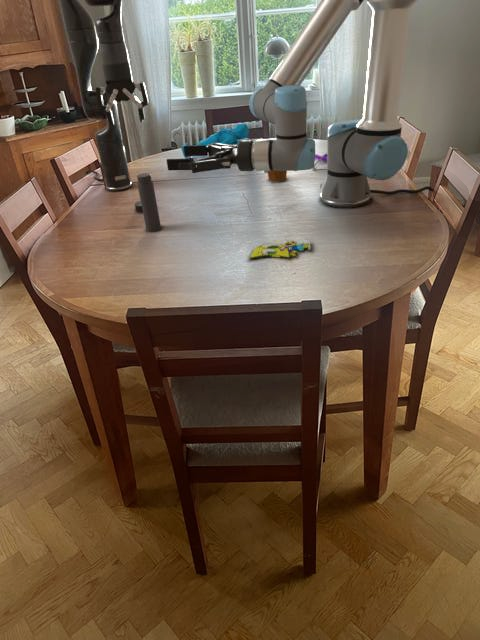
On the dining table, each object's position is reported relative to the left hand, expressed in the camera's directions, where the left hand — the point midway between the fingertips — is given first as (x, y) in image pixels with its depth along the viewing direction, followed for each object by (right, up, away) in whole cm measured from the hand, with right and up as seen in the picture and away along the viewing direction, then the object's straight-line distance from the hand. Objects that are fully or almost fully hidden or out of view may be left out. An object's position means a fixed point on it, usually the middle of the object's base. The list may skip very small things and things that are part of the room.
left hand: (127, 123), depth 142 cm
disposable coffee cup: (+47, -8, +30) cm, 56 cm away
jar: (+8, -31, 0) cm, 32 cm away
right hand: (+16, -15, -14) cm, 26 cm away
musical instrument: (+65, +2, +43) cm, 78 cm away
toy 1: (+23, +12, +65) cm, 70 cm away
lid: (+2, -21, +13) cm, 25 cm away
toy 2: (+44, -41, -20) cm, 63 cm away
